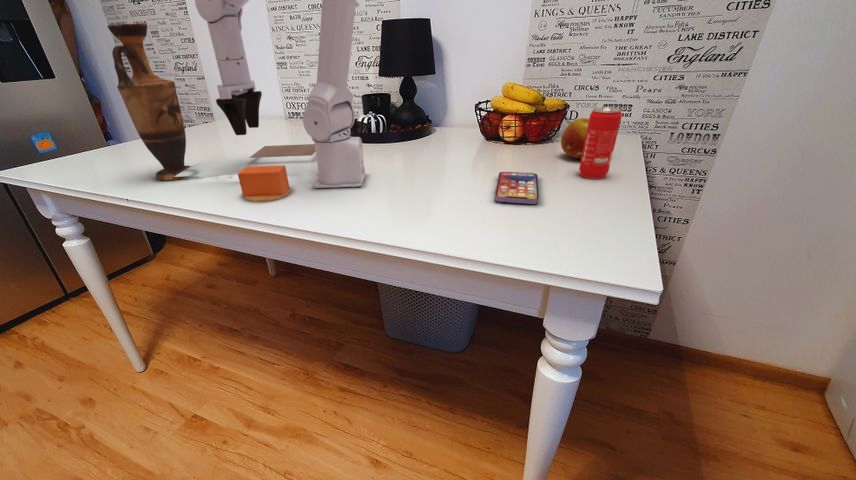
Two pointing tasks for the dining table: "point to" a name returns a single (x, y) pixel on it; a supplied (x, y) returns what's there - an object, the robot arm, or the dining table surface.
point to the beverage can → (600, 142)
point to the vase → (150, 102)
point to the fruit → (575, 137)
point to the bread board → (285, 151)
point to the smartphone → (517, 188)
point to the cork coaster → (266, 197)
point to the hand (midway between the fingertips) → (247, 131)
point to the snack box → (263, 180)
